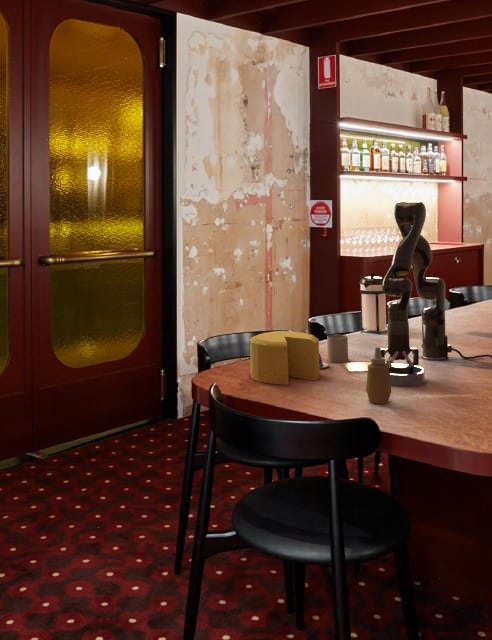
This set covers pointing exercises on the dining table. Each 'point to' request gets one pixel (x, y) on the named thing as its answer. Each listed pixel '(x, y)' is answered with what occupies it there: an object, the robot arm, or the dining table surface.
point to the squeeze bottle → (378, 379)
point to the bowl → (407, 377)
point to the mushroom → (399, 369)
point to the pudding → (321, 364)
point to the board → (357, 366)
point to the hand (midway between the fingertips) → (399, 377)
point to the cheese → (284, 357)
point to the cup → (337, 348)
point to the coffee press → (372, 304)
